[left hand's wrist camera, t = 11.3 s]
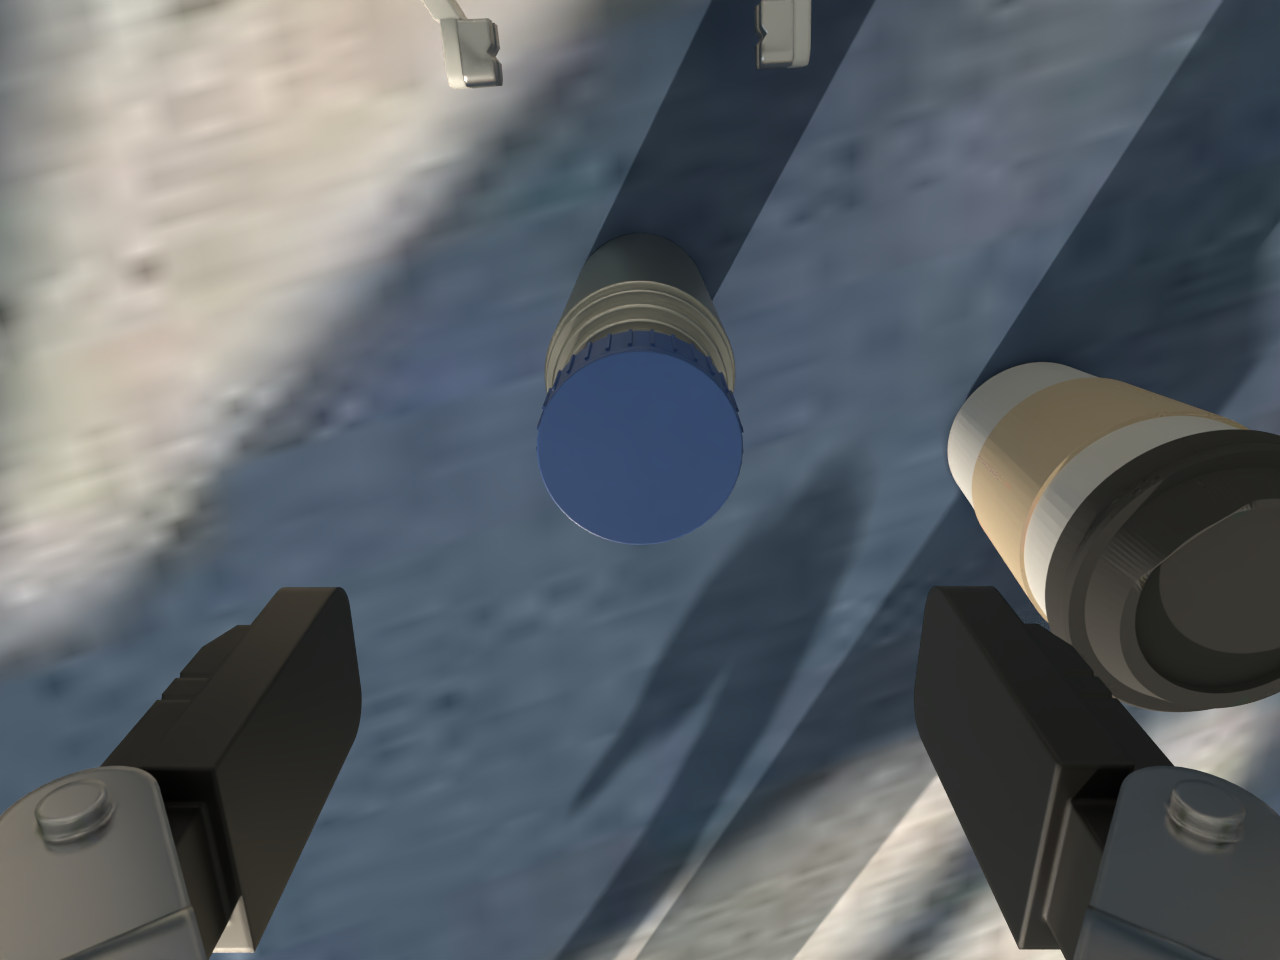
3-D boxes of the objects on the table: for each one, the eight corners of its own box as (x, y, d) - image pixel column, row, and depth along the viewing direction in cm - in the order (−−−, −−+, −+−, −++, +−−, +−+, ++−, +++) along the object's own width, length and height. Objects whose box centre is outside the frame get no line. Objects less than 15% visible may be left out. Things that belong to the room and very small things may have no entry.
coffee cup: (1174, 445, 38) (1483, 624, 24) (999, 572, 40) (1189, 803, 26) (1059, 289, 36) (1328, 388, 22) (879, 433, 38) (1019, 607, 24)
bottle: (581, 225, 35) (527, 309, 18) (714, 241, 35) (782, 340, 18) (569, 355, 37) (509, 542, 20) (694, 370, 37) (741, 568, 20)
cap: (552, 315, 20) (542, 334, 18) (750, 340, 20) (762, 360, 18) (536, 500, 21) (526, 535, 19) (720, 521, 22) (728, 557, 20)
